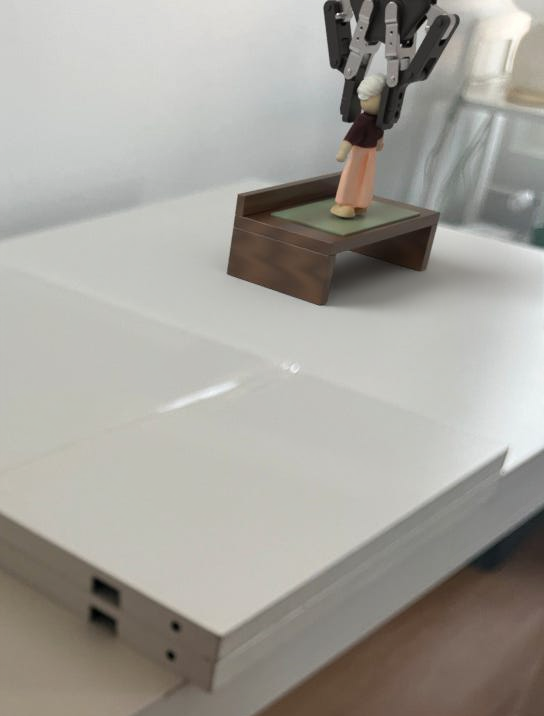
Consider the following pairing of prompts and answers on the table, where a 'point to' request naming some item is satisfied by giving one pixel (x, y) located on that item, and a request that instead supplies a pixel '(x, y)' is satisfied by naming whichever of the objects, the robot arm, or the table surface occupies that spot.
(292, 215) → the shelf
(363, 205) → the grandmother figurine
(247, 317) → the table surface
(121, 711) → the table surface
